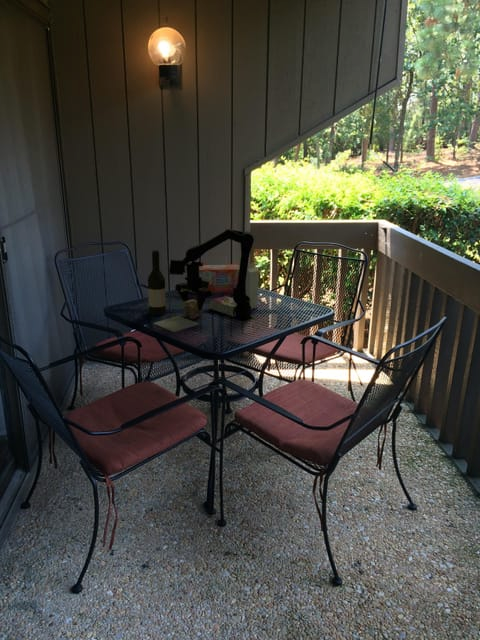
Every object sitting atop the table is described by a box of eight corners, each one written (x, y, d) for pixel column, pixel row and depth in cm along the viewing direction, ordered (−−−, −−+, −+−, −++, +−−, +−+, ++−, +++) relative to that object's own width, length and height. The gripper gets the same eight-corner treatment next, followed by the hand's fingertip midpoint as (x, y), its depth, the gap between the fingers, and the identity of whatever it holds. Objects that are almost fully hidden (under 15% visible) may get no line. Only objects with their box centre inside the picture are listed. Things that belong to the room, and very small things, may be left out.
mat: (198, 324, 219) (198, 323, 219) (174, 332, 209) (174, 331, 209) (177, 317, 228) (177, 315, 228) (153, 324, 218) (153, 322, 218)
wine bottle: (162, 316, 228) (161, 252, 218) (145, 315, 230) (143, 251, 220) (168, 311, 236) (167, 248, 226) (152, 309, 237) (150, 247, 227)
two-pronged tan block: (202, 316, 230) (202, 301, 227) (192, 319, 226) (192, 304, 223) (193, 313, 234) (193, 299, 231) (183, 316, 229) (183, 301, 227)
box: (237, 286, 281) (237, 262, 276) (242, 292, 269) (243, 268, 265) (190, 288, 275) (189, 264, 270) (193, 294, 263) (193, 269, 259)
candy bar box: (225, 295, 246) (250, 302, 236) (225, 304, 248) (249, 312, 237) (209, 299, 238) (233, 307, 228) (209, 309, 240) (233, 317, 230)
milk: (257, 307, 244) (259, 264, 237) (248, 310, 240) (250, 265, 233) (248, 304, 248) (250, 261, 241) (240, 307, 244) (241, 263, 237)
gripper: (220, 276, 223) (219, 308, 228) (192, 268, 235) (192, 300, 240) (202, 280, 215) (202, 314, 220) (174, 272, 227) (174, 305, 232)
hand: (193, 308), depth 228 cm, fingers open, 9 cm apart
